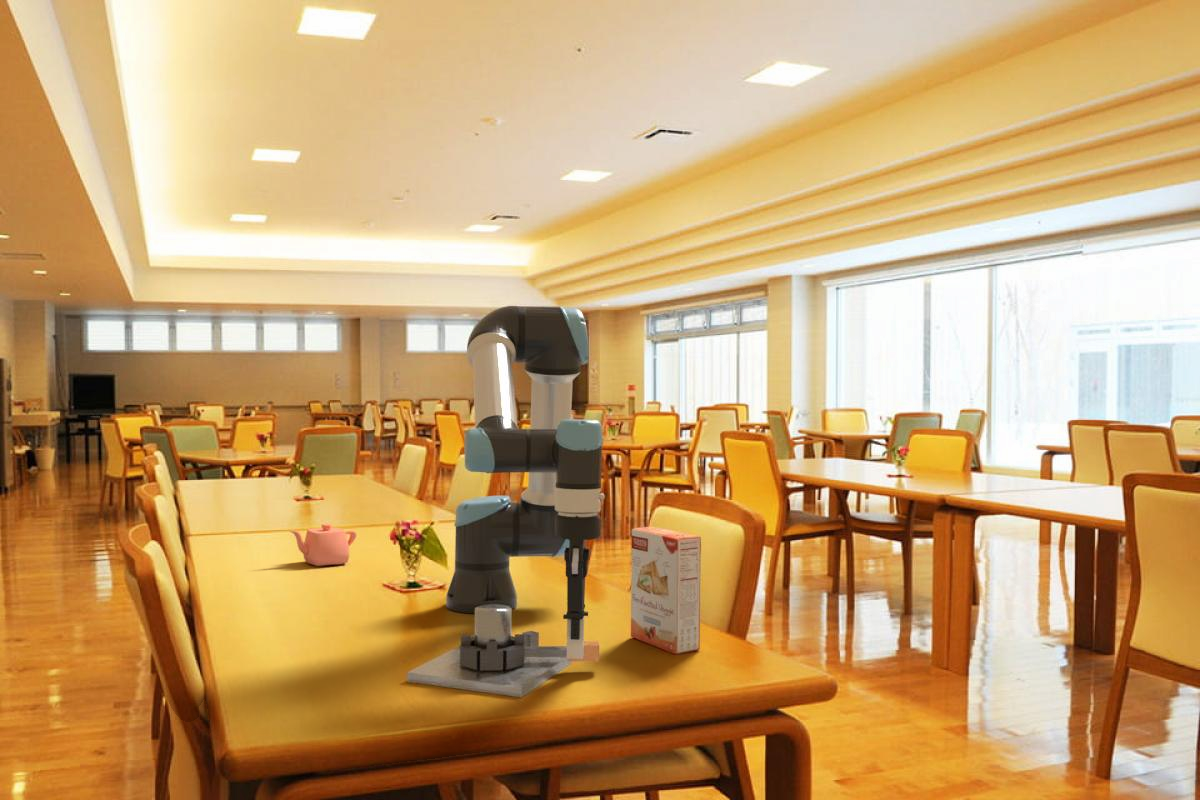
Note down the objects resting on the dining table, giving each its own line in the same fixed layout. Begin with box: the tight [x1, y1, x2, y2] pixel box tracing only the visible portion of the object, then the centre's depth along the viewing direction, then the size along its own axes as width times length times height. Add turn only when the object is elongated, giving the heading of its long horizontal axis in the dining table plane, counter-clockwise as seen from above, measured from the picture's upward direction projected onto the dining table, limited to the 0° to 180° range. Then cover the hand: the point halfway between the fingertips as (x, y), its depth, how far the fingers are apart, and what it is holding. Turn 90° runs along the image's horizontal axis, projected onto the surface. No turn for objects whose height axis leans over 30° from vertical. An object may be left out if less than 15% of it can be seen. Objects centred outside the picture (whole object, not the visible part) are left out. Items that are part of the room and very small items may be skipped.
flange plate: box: [406, 604, 573, 698], centre depth 158 cm, size 20×20×10 cm
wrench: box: [459, 633, 600, 670], centre depth 158 cm, size 23×10×4 cm, turn 94°
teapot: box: [289, 523, 358, 567], centre depth 252 cm, size 12×18×10 cm, turn 124°
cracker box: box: [630, 526, 702, 655], centre depth 176 cm, size 14×6×21 cm, turn 34°
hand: (575, 657), depth 157 cm, fingers closed
